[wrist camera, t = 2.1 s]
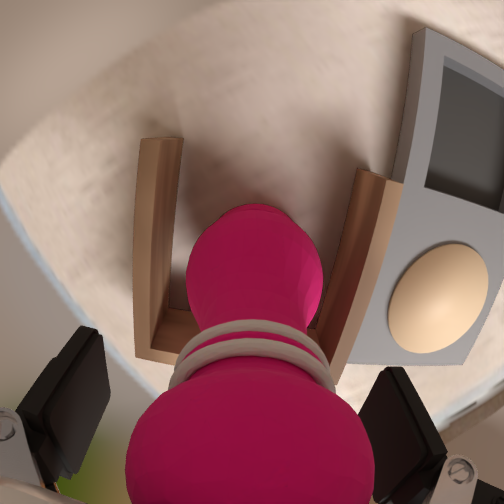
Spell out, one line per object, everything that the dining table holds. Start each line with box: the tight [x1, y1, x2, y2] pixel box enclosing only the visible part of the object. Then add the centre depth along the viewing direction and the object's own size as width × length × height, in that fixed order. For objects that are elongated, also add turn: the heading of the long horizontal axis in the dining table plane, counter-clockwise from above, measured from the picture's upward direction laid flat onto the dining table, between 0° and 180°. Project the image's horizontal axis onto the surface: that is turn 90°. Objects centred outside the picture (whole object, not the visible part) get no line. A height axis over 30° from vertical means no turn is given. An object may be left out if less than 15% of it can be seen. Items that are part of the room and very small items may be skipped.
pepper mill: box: [125, 204, 375, 504], centre depth 12 cm, size 7×7×20 cm
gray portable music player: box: [347, 27, 504, 366], centre depth 19 cm, size 12×24×2 cm, turn 171°
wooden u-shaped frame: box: [133, 137, 404, 385], centre depth 19 cm, size 13×13×5 cm
